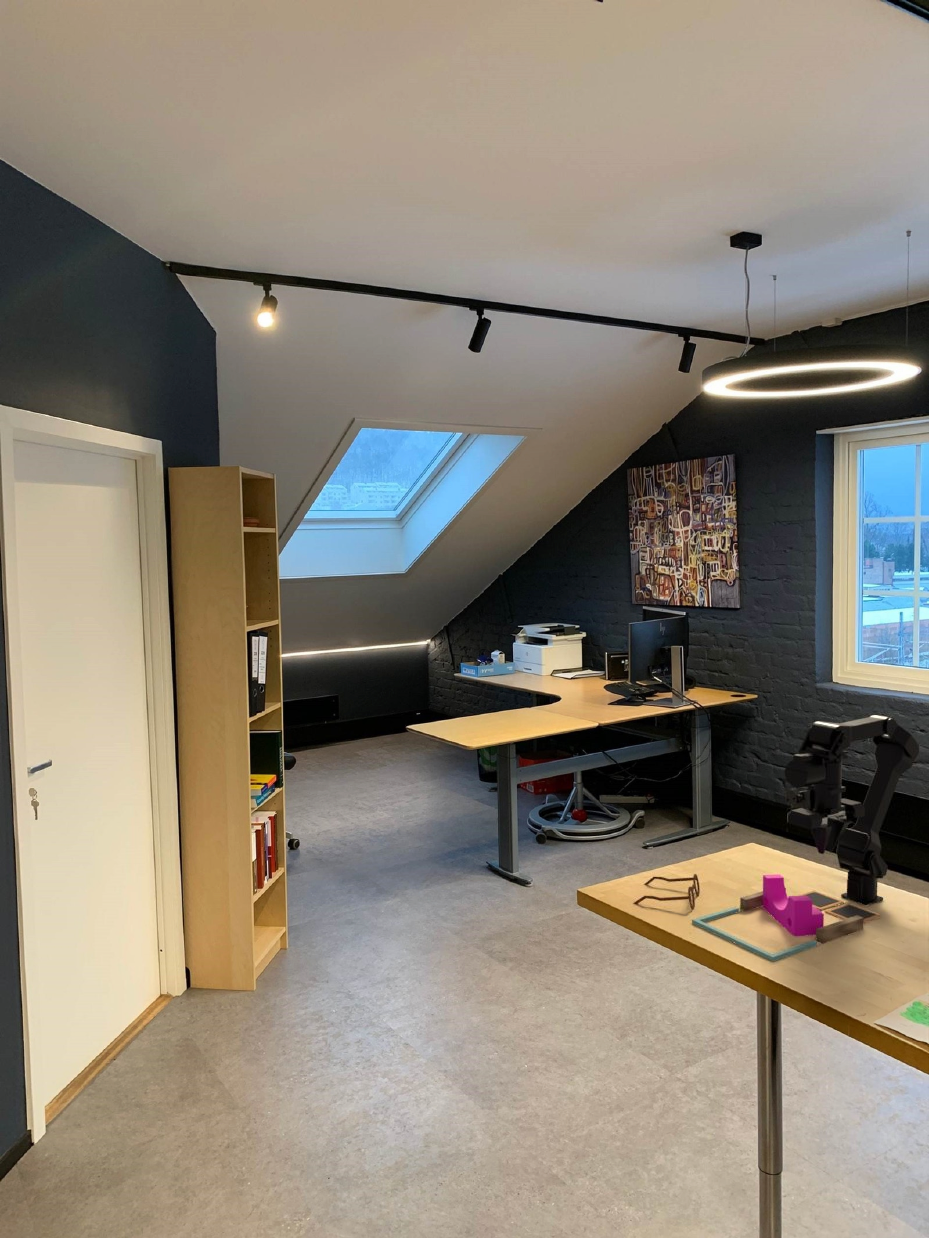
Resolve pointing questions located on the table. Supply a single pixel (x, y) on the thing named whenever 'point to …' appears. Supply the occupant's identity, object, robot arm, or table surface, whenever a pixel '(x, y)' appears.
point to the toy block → (790, 908)
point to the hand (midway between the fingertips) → (825, 852)
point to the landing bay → (744, 944)
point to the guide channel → (822, 933)
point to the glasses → (676, 897)
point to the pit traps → (842, 911)
